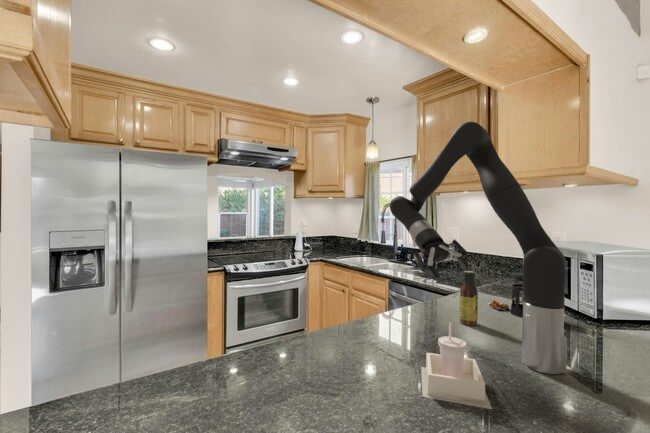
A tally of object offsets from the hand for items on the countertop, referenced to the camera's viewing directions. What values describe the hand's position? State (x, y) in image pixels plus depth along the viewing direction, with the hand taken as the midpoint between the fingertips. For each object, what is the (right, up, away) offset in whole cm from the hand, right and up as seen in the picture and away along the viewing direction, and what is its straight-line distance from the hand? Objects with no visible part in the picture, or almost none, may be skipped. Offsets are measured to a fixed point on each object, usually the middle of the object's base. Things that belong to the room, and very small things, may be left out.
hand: (452, 273), depth 86 cm
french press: (+48, -26, +43) cm, 69 cm away
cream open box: (-6, -24, -13) cm, 28 cm away
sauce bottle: (+19, -25, +31) cm, 44 cm away
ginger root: (+43, -26, +53) cm, 73 cm away
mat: (-6, -25, -13) cm, 29 cm away
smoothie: (-6, -24, -13) cm, 28 cm away
